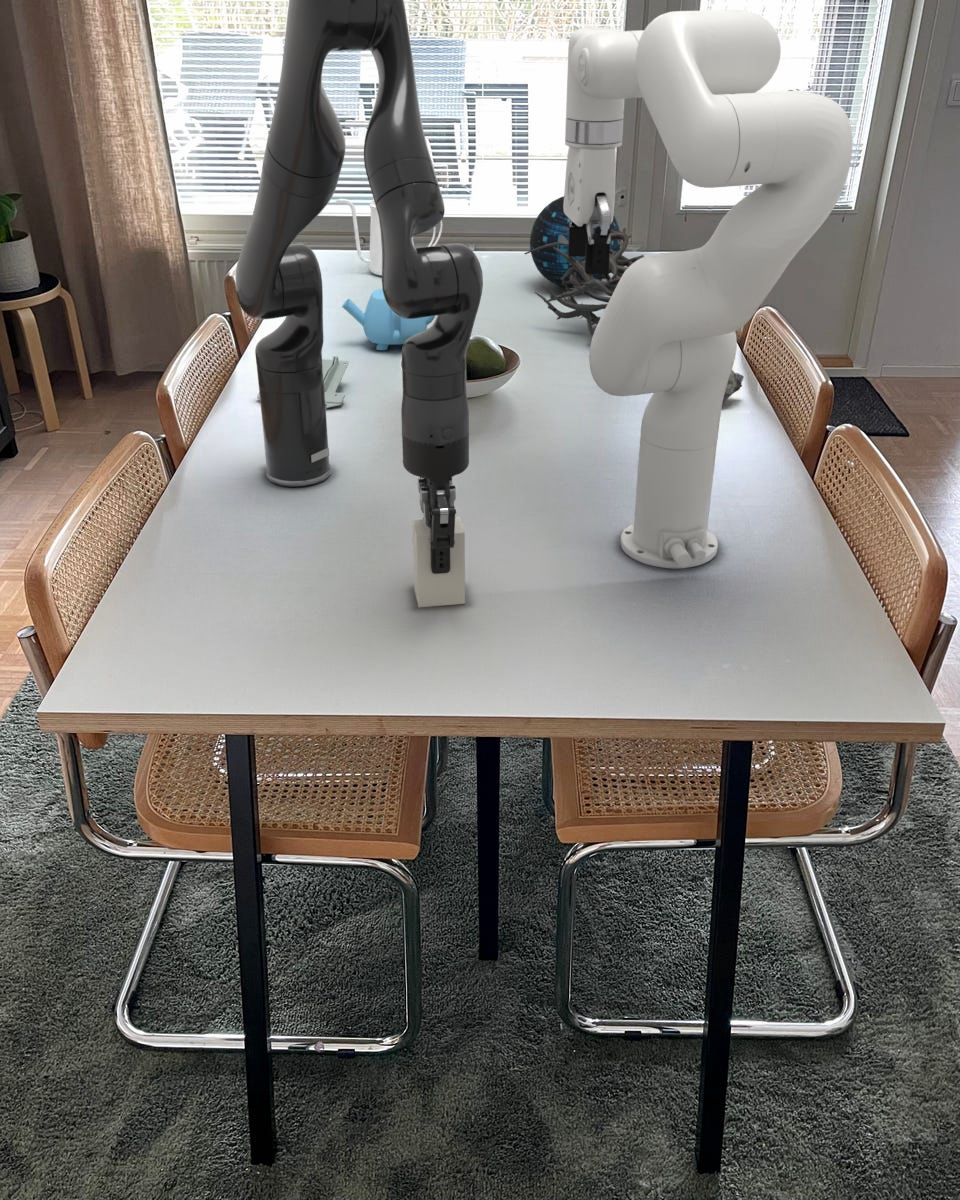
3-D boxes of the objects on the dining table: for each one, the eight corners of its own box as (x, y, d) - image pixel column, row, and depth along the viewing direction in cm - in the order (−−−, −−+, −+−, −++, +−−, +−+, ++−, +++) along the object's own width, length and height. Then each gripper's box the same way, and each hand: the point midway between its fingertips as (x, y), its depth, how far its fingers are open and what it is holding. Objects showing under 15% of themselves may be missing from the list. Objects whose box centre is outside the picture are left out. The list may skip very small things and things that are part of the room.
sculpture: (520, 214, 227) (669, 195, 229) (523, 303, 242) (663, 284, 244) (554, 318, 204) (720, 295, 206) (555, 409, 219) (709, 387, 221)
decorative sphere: (528, 299, 253) (530, 204, 243) (528, 275, 270) (530, 185, 260) (621, 300, 252) (627, 205, 242) (615, 276, 270) (620, 186, 260)
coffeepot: (334, 269, 275) (328, 186, 265) (437, 262, 281) (435, 181, 271) (341, 281, 266) (336, 195, 256) (448, 274, 272) (447, 190, 262)
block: (414, 590, 143) (412, 519, 138) (459, 586, 144) (459, 516, 139) (418, 607, 139) (416, 536, 135) (465, 604, 140) (464, 532, 135)
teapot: (399, 327, 236) (396, 271, 230) (447, 341, 228) (446, 283, 222) (342, 344, 226) (338, 286, 220) (391, 360, 218) (388, 300, 212)
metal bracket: (278, 345, 207) (359, 350, 204) (284, 372, 211) (364, 378, 208) (252, 393, 197) (337, 399, 194) (259, 421, 201) (342, 427, 199)
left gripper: (395, 407, 136) (400, 537, 145) (409, 455, 124) (413, 594, 133) (459, 403, 137) (460, 533, 146) (478, 450, 125) (478, 589, 134)
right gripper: (551, 123, 160) (547, 250, 168) (581, 144, 145) (575, 281, 154) (604, 122, 161) (598, 248, 170) (640, 142, 146) (631, 279, 155)
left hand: (437, 561), depth 139 cm, fingers closed on block, 4 cm apart
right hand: (587, 264), depth 162 cm, fingers open, 9 cm apart
